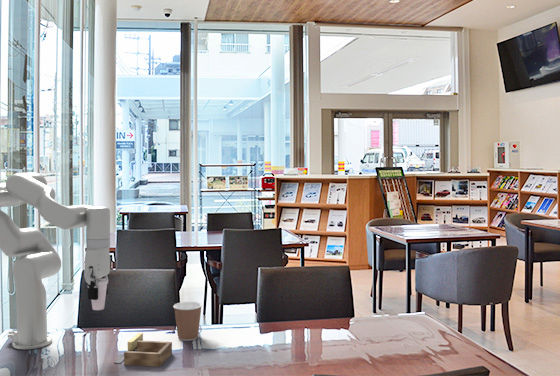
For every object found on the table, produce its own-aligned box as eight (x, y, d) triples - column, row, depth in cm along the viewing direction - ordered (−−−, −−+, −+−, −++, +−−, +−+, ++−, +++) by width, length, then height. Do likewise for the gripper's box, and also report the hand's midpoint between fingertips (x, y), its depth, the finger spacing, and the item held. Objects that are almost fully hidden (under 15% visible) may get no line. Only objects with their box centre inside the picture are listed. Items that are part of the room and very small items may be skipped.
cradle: (113, 364, 170) (112, 351, 170) (138, 342, 190) (138, 331, 190) (159, 366, 168) (159, 354, 168) (180, 344, 188) (180, 333, 188)
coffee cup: (207, 334, 199) (207, 302, 199) (193, 343, 189) (193, 310, 189) (182, 332, 202) (182, 300, 202) (168, 340, 193) (167, 307, 192)
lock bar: (127, 350, 181) (127, 341, 180) (138, 341, 190) (138, 332, 190) (132, 350, 180) (131, 342, 180) (143, 341, 190) (142, 333, 190)
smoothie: (101, 312, 177) (102, 270, 176) (84, 310, 178) (84, 268, 178) (111, 306, 183) (111, 266, 183) (94, 305, 185) (94, 265, 184)
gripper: (99, 239, 189) (99, 290, 190) (74, 247, 172) (74, 303, 173) (120, 240, 188) (119, 291, 189) (96, 248, 171) (96, 304, 172)
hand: (98, 296), depth 181 cm, fingers closed on smoothie, 6 cm apart
